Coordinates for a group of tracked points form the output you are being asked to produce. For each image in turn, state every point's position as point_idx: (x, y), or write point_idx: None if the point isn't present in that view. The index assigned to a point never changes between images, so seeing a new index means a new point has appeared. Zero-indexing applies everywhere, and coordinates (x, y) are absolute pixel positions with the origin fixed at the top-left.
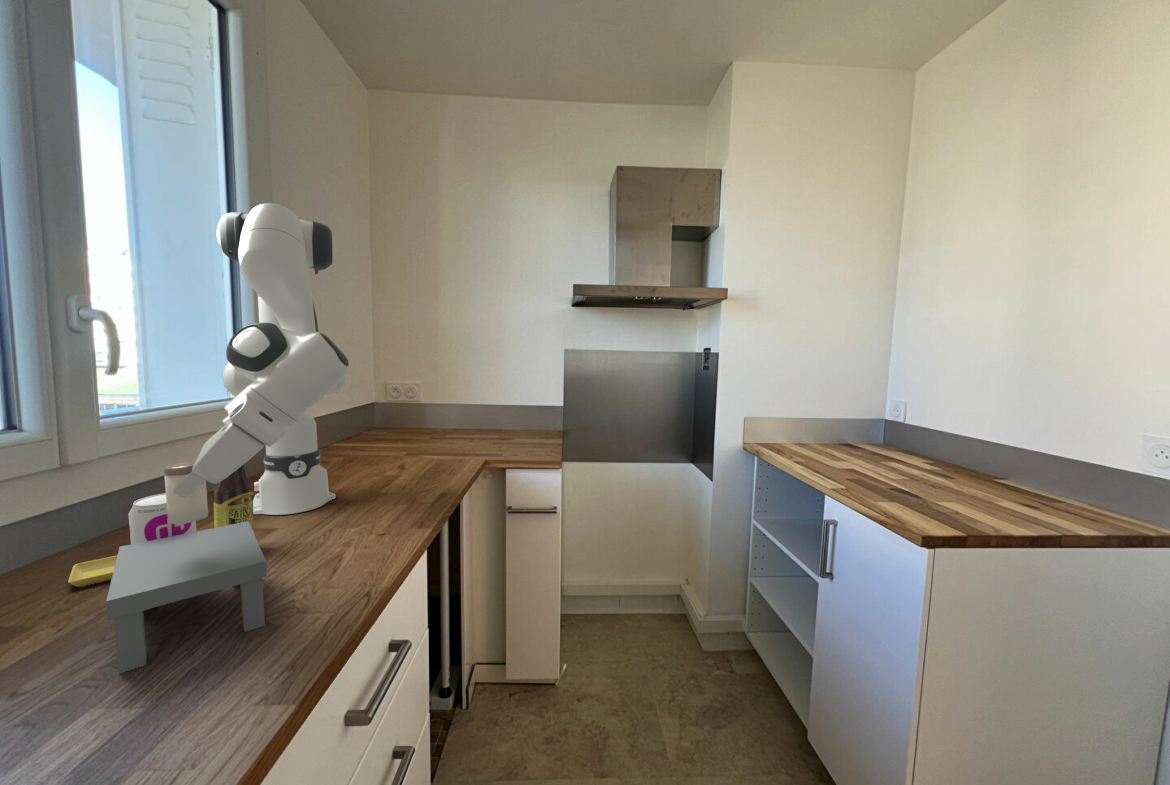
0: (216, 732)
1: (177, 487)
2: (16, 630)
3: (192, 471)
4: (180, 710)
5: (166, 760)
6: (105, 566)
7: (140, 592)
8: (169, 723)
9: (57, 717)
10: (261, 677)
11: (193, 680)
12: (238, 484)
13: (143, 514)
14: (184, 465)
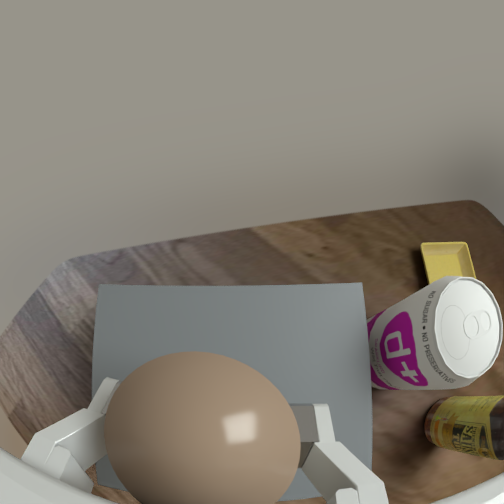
0: (12, 368)
1: (98, 391)
2: (336, 219)
3: (38, 440)
4: (47, 355)
5: (9, 338)
6: (463, 272)
7: (95, 322)
8: (39, 346)
9: (108, 276)
10: (48, 416)
11: (81, 372)
12: None
13: (422, 303)
14: (200, 446)
